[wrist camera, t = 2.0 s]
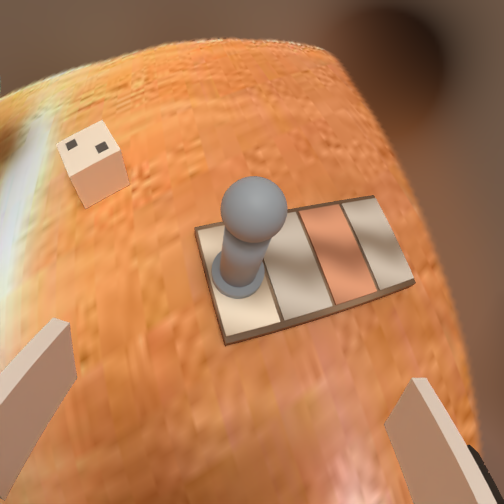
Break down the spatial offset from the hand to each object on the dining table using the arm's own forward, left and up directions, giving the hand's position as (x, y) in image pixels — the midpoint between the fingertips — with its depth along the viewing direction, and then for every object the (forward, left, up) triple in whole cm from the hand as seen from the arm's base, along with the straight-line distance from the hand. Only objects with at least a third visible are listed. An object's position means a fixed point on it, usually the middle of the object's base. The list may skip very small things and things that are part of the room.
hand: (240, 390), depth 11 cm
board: (-10, +13, -18) cm, 24 cm away
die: (-26, -8, -18) cm, 33 cm away
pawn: (-10, +4, -16) cm, 20 cm away
